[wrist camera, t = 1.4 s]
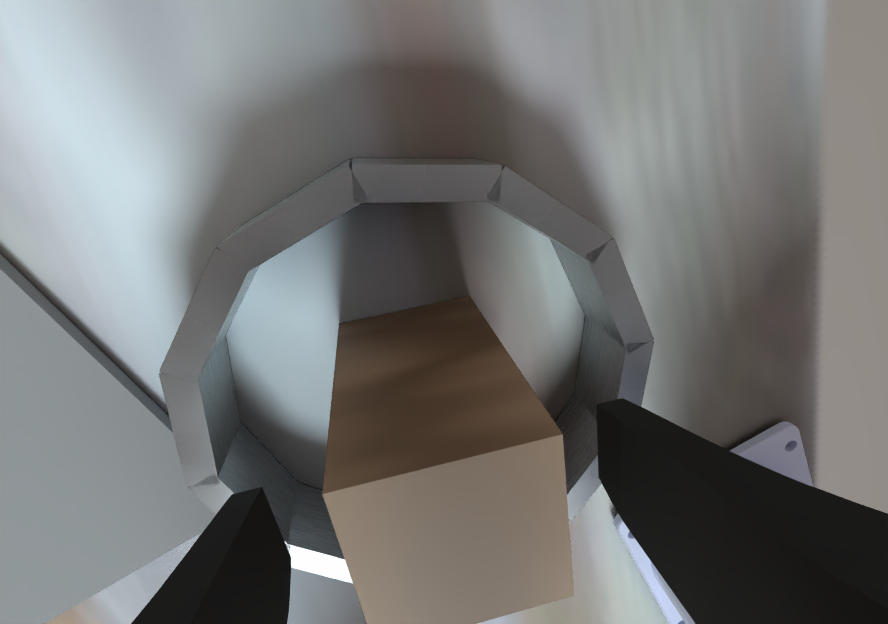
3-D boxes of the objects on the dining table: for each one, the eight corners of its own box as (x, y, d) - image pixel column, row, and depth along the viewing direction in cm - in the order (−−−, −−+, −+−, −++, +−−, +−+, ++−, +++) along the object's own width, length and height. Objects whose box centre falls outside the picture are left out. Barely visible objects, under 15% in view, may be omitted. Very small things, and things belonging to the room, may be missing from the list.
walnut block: (469, 295, 14) (562, 434, 8) (485, 404, 16) (574, 595, 9) (339, 323, 14) (322, 493, 7) (368, 432, 15) (375, 652, 9)
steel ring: (651, 407, 17) (697, 450, 15) (358, 574, 17) (358, 641, 15) (504, 64, 12) (539, 48, 10) (97, 313, 12) (38, 355, 10)
